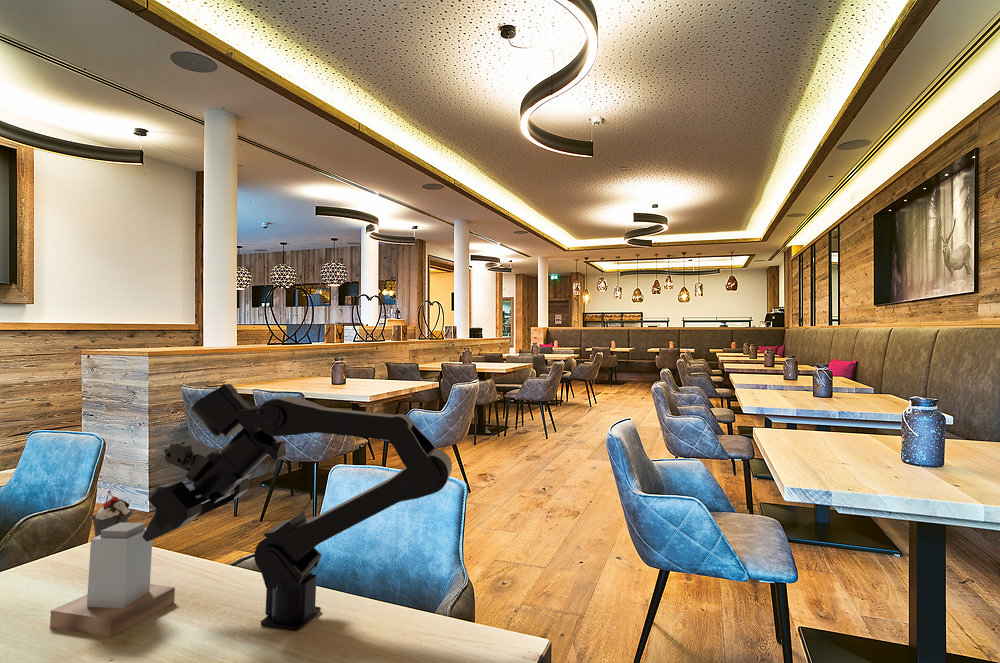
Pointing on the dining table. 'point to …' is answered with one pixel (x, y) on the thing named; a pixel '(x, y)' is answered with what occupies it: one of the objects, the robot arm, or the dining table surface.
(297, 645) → the dining table surface
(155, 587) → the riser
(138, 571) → the grey rectangular block
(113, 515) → the sundae
